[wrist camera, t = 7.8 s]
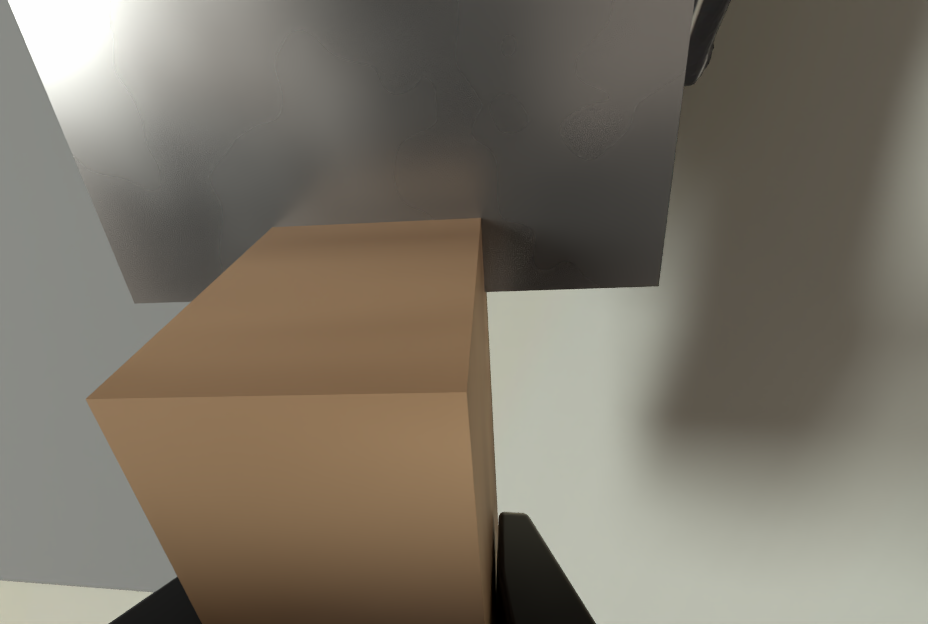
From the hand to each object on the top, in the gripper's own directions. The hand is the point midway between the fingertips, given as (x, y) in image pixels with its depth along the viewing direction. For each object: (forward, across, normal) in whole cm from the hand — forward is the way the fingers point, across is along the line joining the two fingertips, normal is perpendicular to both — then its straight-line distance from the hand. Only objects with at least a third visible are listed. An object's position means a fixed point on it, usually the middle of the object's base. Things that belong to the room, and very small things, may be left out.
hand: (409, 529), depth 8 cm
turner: (+1, 0, -3) cm, 3 cm away
